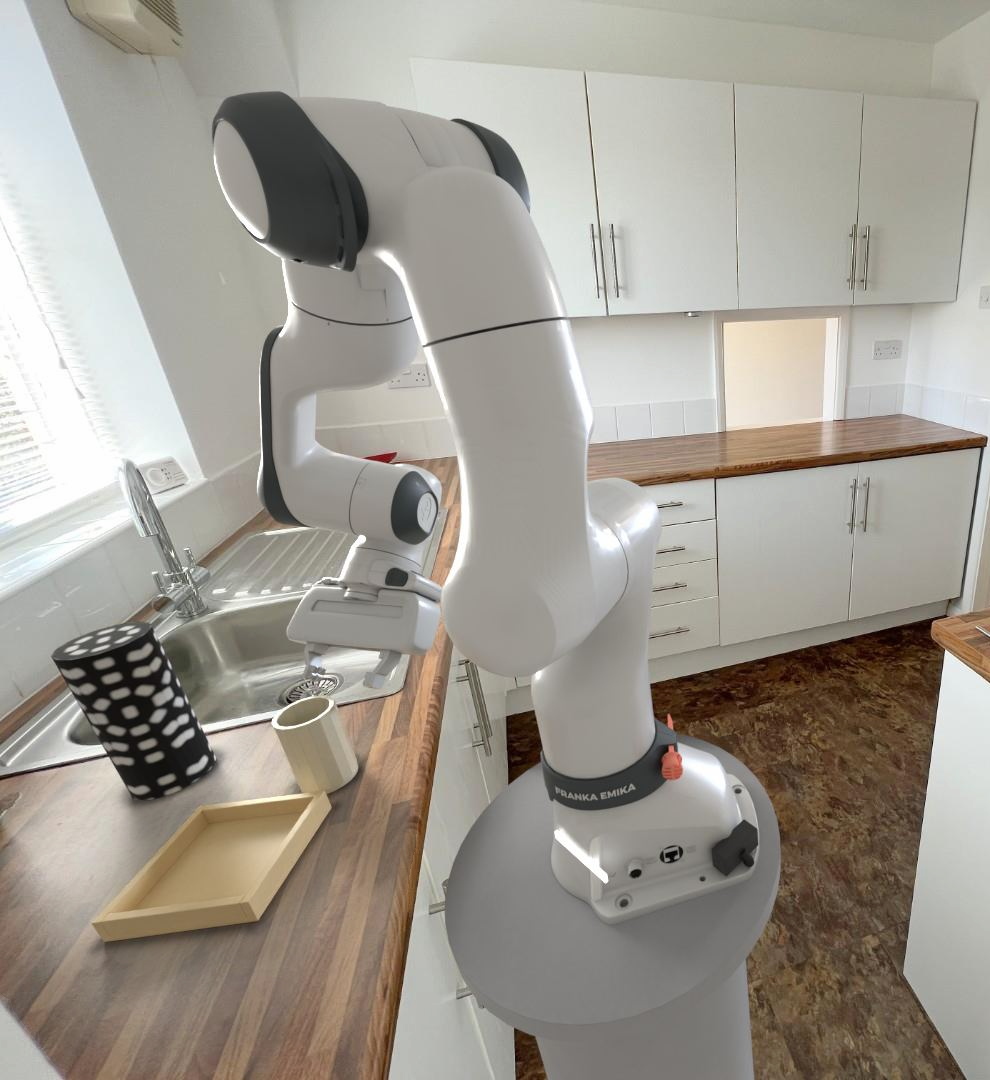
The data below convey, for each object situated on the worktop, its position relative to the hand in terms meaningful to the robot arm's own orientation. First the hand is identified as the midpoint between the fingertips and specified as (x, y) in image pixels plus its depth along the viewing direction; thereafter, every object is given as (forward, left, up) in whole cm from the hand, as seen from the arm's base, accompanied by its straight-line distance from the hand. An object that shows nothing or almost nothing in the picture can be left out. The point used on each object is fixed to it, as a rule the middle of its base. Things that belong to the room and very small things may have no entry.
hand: (340, 684), depth 73 cm
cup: (+2, +5, -10) cm, 11 cm away
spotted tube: (+23, +1, -10) cm, 25 cm away
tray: (+6, +17, -10) cm, 21 cm away
